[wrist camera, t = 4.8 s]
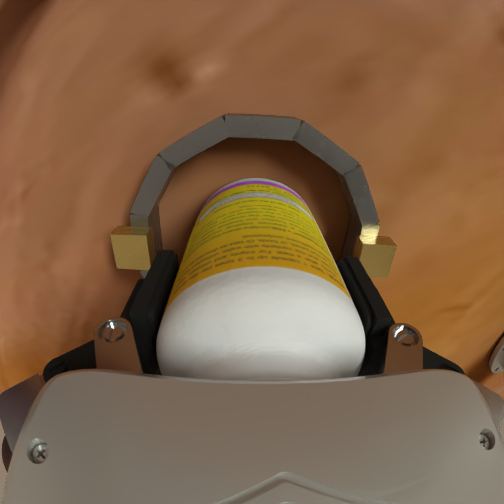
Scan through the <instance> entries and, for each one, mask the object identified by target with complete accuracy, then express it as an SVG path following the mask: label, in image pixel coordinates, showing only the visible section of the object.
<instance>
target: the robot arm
mask: <svg viewBox="0 0 504 504" xmlns="http://www.w3.org/2000/svg"><path fill="white" fill-rule="evenodd" d="M178 270H179V265H178V256H177V254H173V251H172V250H159V251H158V253H157V255H156V257H155V259H154V261H153V263H152V265H151V267H150V269H149V271H148V273H147V275H146V277H145V279H139V280H138V282H137V284H136V286H135V288H134V290H133V292H132V294H131V296H130V298H129V300H128V302H127V304H126V306H125V308H124V310H123V312H122V314H121V316H120V317H112V318H108V319H105V320H103V321H102V322H100V323H99V324H98V325H97V326H96V328H95V330H94V340H92V341H90V342H88V343H86V344H84V345H82V346H80V347H78V348H76V349H74V350H72V351H69V352H67V353H65V354H63V355H61V356H59V357H57V358H55V359H53V360H51V361H50V362H49V363H48V364H47V365H46V367H45V368H44V371H43V375H41V376H39V374H38V373H37V374H35V375H34V376H32V377H30V378H28V379H26V380H24V381H22V382H20V383H18V384H16V385H15V386H13V387H11V388H9V389H7V390H5V391H4V392H2V393H1V394H0V420H1V423H2V426H3V429H4V433H5V435H6V438H7V441H8V444H9V447H10V449H11V452H12V454H13V455H12V459H11V462H10V466H9V469H8V473H7V477H6V481H5V487H4V491H3V497H2V503H1V504H504V441H503V439H502V436H501V433H500V429H501V425H502V421H503V417H504V400H503V399H502V397H501V396H499V395H498V394H497V393H495V392H493V391H491V390H490V389H488V388H486V387H485V386H483V385H481V384H479V383H478V382H476V381H474V380H473V379H471V378H469V377H467V376H465V374H464V372H463V370H462V369H461V368H460V367H459V366H458V365H456V364H455V363H453V362H451V361H449V360H447V359H445V358H444V357H442V356H440V355H438V354H436V353H434V352H432V351H430V350H428V349H427V348H425V347H423V340H422V336H421V334H420V332H419V331H418V330H417V329H416V328H415V327H413V326H411V325H409V324H406V323H396V324H395V322H394V320H393V318H392V316H391V314H390V312H389V310H388V308H387V307H386V305H385V303H384V301H383V299H382V297H381V296H380V294H379V292H378V290H377V289H376V287H375V286H374V284H373V283H372V281H371V279H370V277H369V276H368V274H367V272H366V270H365V269H364V267H363V265H362V264H361V262H360V260H359V259H358V257H344V258H343V260H340V261H339V264H338V270H339V272H340V274H341V277H342V279H343V281H344V283H345V285H346V288H347V290H348V292H349V294H350V297H351V299H352V301H353V303H354V306H355V308H356V310H357V312H358V314H359V317H360V319H361V322H362V325H363V329H364V333H365V355H364V360H363V363H362V366H361V369H360V371H359V373H358V375H357V377H349V378H337V379H321V380H300V381H233V380H211V379H195V378H183V377H172V376H162V374H161V371H160V368H159V365H158V361H157V353H156V342H157V335H158V331H159V327H160V324H161V320H162V317H163V314H164V311H165V308H166V305H167V302H168V299H169V296H170V294H171V291H172V288H173V285H174V282H175V279H176V276H177V273H178ZM489 367H490V369H491V371H492V372H493V373H500V372H503V371H504V336H503V337H502V339H501V340H500V342H499V343H498V344H497V346H496V348H495V349H494V351H493V353H492V355H491V357H490V361H489Z"/></svg>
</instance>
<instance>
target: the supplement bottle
mask: <svg viewBox="0 0 504 504" xmlns="http://www.w3.org/2000/svg"><path fill="white" fill-rule="evenodd" d="M156 353H157V361H158V365H159V368H160V371H161V374H162V376H172V377H183V378H195V379H211V380H233V381H300V380H321V379H337V378H349V377H357V375H358V373H359V371H360V369H361V366H362V363H363V360H364V355H365V333H364V329H363V325H362V322H361V319H360V317H359V314H358V312H357V310H356V308H355V306H354V303H353V301H352V299H351V297H350V294H349V292H348V290H347V288H346V285H345V283H344V281H343V279H342V277H341V274H340V272H339V270H338V268H337V266H336V263H335V261H334V259H333V257H332V255H331V253H330V250H329V248H328V246H327V244H326V242H325V240H324V238H323V236H322V234H321V232H320V229H319V227H318V225H317V223H316V221H315V219H314V217H313V215H312V213H311V211H310V210H309V208H308V206H307V204H306V203H305V202H304V200H303V199H302V198H301V197H300V196H299V195H298V194H297V193H296V192H295V191H293V190H292V189H291V188H289V187H287V186H286V185H284V184H282V183H279V182H277V181H273V180H269V179H263V178H247V179H241V180H238V181H235V182H232V183H230V184H227V185H225V186H224V187H222V188H220V189H219V190H218V191H216V192H215V193H214V194H213V195H212V196H211V197H210V198H209V199H208V200H207V201H206V203H205V204H204V205H203V207H202V209H201V211H200V213H199V215H198V217H197V220H196V222H195V225H194V228H193V231H192V233H191V236H190V238H189V241H188V244H187V247H186V250H185V253H184V256H183V259H182V262H181V264H180V267H179V270H178V273H177V276H176V279H175V282H174V285H173V288H172V291H171V294H170V296H169V299H168V302H167V305H166V308H165V311H164V314H163V317H162V320H161V324H160V327H159V331H158V335H157V342H156Z"/></svg>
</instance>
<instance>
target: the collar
mask: <svg viewBox="0 0 504 504" xmlns="http://www.w3.org/2000/svg"><path fill="white" fill-rule="evenodd" d="M228 137H240V138H262V139H278V140H291V141H296V142H297V143H299V144H300V145H302V146H303V147H305V148H306V149H308V150H309V151H310V152H312V153H313V154H315V155H316V156H317V157H319V158H320V159H322V160H323V161H324V162H326V163H327V164H328V165H330V166H331V167H332V168H334V170H335V173H336V175H337V177H338V180H339V183H340V185H341V188H342V190H343V193H344V195H345V198H346V201H347V203H348V206H349V209H350V212H351V213H350V219H349V224H348V229H347V233H346V238H345V243H344V247H343V252H342V256H341V257H340V258H339V260H338V261H337V262H336V266H337V268H338V264H339V261H340V260H343V258H344V257H358V259H359V260H360V262H361V264H362V265H363V267H364V269H365V270H366V272H367V274H368V276H369V277H387V275H388V272H389V269H390V266H391V263H392V260H393V257H394V253H395V250H396V247H397V245H396V244H395V243H394V242H393V241H392V239H391V238H390V237H384V236H377V234H378V230H379V226H380V225H379V224H378V223H379V218H378V215H377V212H376V208H375V205H374V202H373V199H372V196H371V193H370V189H369V186H368V183H367V181H366V178H365V175H364V172H363V169H362V166H361V165H359V162H358V161H356V160H355V159H354V158H353V157H351V156H350V155H349V154H348V153H346V152H345V151H344V150H343V149H341V148H340V147H339V146H338V145H336V144H335V143H334V142H332V141H331V140H330V139H328V138H327V137H326V136H324V135H323V134H322V133H320V132H319V131H318V130H316V129H315V128H313V127H312V126H311V125H309V124H308V123H306V122H305V121H303V120H300V119H297V118H295V117H286V116H273V115H257V114H229V113H228V114H227V115H225V114H224V115H223V116H221V117H219V118H217V119H215V120H213V121H211V122H210V123H208V124H206V125H204V126H202V127H201V128H199V129H197V130H195V131H194V132H192V133H190V134H188V135H187V136H185V137H183V138H182V139H180V140H178V141H177V142H175V143H173V144H172V145H170V146H168V147H167V148H165V149H164V150H162V151H161V152H159V154H158V155H156V157H155V159H154V161H153V163H152V165H151V167H150V169H149V171H148V173H147V175H146V178H145V180H144V182H143V184H142V186H141V188H140V190H139V192H138V195H137V197H136V199H135V201H134V203H133V206H132V208H131V210H130V212H131V214H130V223H131V226H117V227H116V229H115V230H114V231H113V232H112V233H111V234H110V236H111V241H112V247H113V252H114V257H115V261H116V266H117V268H118V269H134V270H140V271H139V272H140V274H141V275H142V276H143V277H144V279H145V277H146V275H147V273H148V271H149V269H150V267H151V265H152V263H153V261H154V259H155V257H156V255H157V253H158V251H159V250H163V248H162V239H161V229H160V218H159V207H158V204H159V202H160V200H161V198H162V196H163V194H164V192H165V190H166V188H167V186H168V184H169V182H170V181H171V179H172V177H173V175H174V173H175V171H176V169H177V168H178V166H179V164H181V163H183V162H185V161H186V160H188V159H190V158H191V157H193V156H195V155H197V154H198V153H200V152H202V151H204V150H206V149H207V148H209V147H211V146H213V145H215V144H217V143H219V142H220V141H222V140H224V139H226V138H228Z"/></svg>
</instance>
